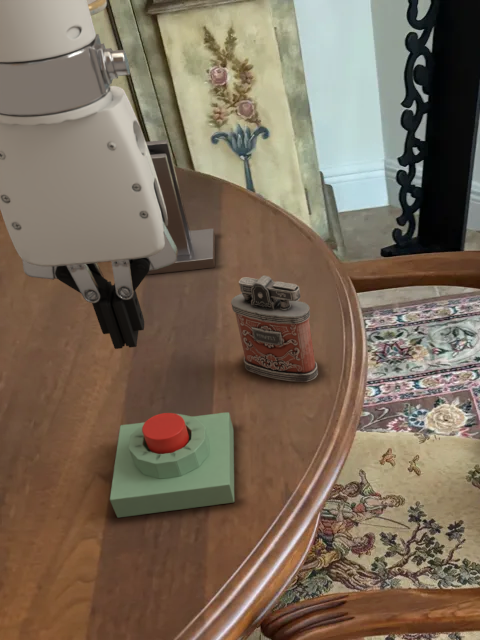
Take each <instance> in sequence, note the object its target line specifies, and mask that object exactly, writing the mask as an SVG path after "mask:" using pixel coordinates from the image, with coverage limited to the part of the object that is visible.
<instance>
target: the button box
mask: <svg viewBox="0 0 480 640" xmlns="http://www.w3.org/2000/svg"><path fill="white" fill-rule="evenodd" d="M176 414H177V415H179V416H181V417H182V418H183V419H184V421H185V425H186V428H187V431H188V435H189V441H188V443H187V445H186V446H185V447H183V448H181V449H179V450H177V451H175V452H173V453H166V454H157V453H153V452H152V451H150V450H149V448H148V446H147V443H146V441H145V438H144V435H143V432H142V428H143V425H144V423H145V422H146V421H144V422H136V423H128V424H121V425H120V426H119V432H118V438H117V447H116V453H115V459H114V460H115V461H114V466H113V473H112V482H111V489H110V495H109V502H110V504H111V506H112V508H113V512H114V513H115V516H116V518H117V519H118V518H127V517H134V516H141V515H148V514H149V515H150V514H157V513H165V512H172V511H179V510H186V509H195V508H202V507H209V506H211V507H212V506H218V505H224V504H233V503H235V441H234V439H235V437H234V434H235V433H234V426H233V422H232V418H231V414H230V412H229V411H228V412H219V413H211V414H202V415H193V416H192V415H191V416H190V415H186V414H182V413H176Z"/></svg>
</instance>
